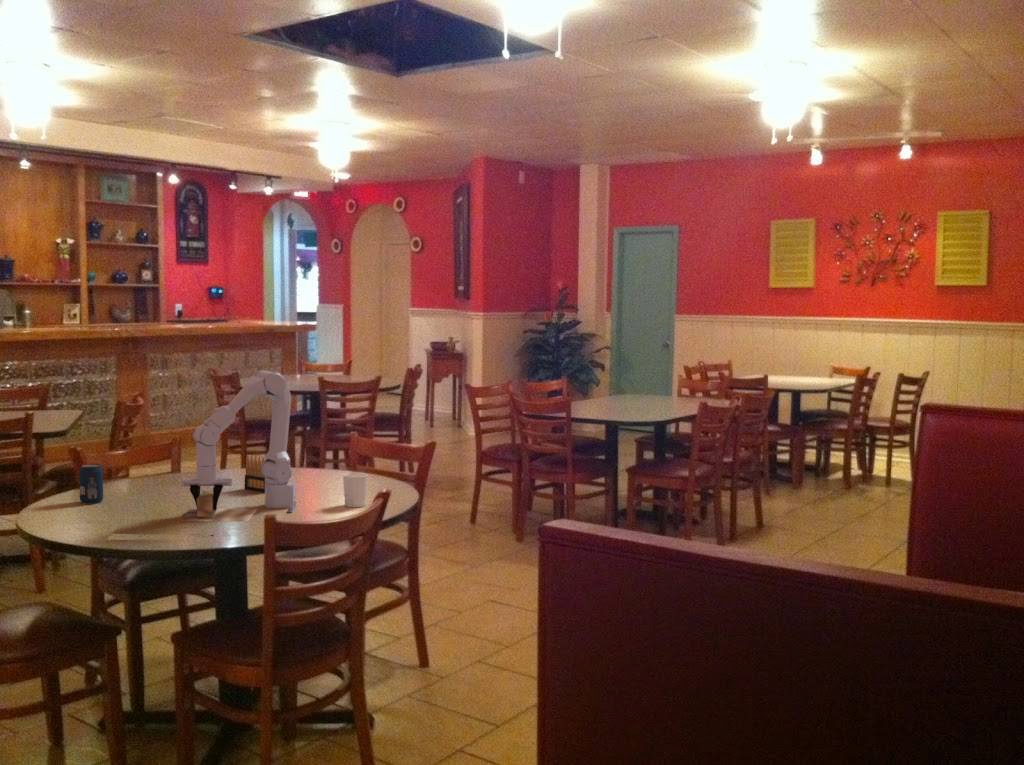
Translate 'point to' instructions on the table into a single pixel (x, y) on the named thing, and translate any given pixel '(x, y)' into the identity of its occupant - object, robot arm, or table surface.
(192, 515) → the charcoal chip
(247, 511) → the birch board
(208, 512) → the block
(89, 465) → the soda can
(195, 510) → the charcoal chip
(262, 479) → the ammunition clip
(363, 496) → the white cup
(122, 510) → the table surface
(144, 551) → the table surface
